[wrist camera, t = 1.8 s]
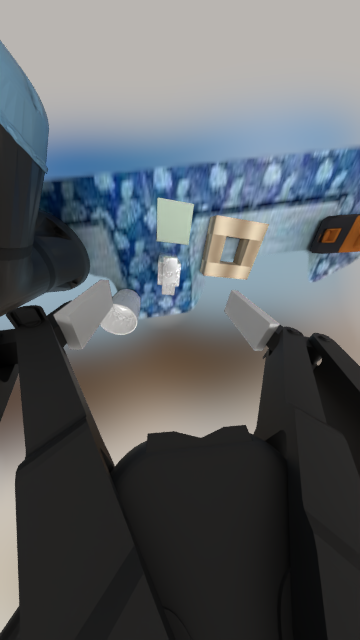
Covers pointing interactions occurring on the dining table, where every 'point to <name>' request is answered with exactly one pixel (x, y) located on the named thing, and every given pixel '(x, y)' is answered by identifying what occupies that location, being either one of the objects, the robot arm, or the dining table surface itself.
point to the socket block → (246, 250)
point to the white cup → (122, 313)
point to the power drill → (338, 235)
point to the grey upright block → (168, 272)
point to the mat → (174, 221)
